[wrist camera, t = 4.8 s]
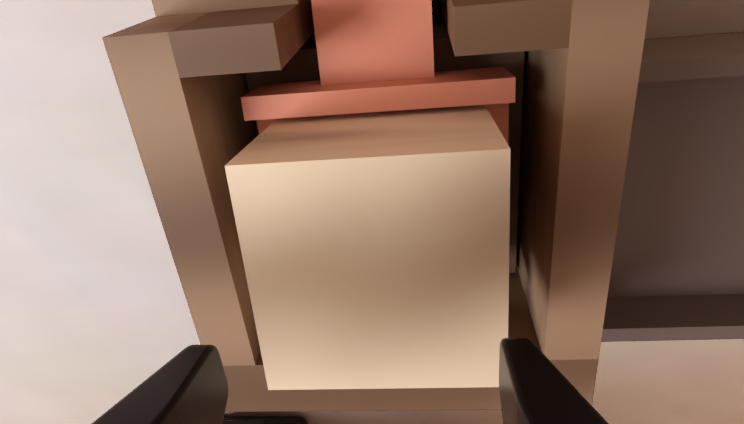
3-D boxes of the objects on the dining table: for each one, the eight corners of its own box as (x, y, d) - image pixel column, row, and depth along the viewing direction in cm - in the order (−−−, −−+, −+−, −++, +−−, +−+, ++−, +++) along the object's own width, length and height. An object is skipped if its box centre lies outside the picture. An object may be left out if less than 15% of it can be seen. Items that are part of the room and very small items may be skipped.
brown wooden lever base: (545, 282, 22) (591, 408, 16) (269, 291, 23) (222, 411, 17) (596, -386, 13) (740, -627, 7) (132, -311, 14) (-60, -467, 8)
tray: (830, 290, 21) (880, 335, 19) (560, 298, 22) (577, 342, 20) (935, 17, 16) (1021, 33, 14) (584, 44, 17) (610, 63, 15)
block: (484, 285, 16) (507, 386, 12) (305, 291, 17) (268, 390, 13) (483, 102, 14) (510, 148, 10) (279, 116, 15) (224, 165, 11)
